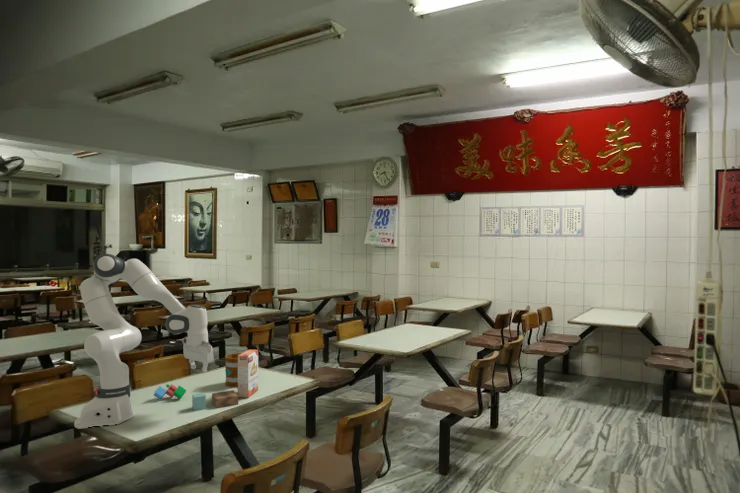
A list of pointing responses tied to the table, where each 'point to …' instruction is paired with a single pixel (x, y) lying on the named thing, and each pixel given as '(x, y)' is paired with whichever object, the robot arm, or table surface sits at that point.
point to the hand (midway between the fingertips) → (198, 370)
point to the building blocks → (170, 391)
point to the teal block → (198, 401)
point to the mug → (232, 370)
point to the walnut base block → (224, 398)
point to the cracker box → (247, 373)
